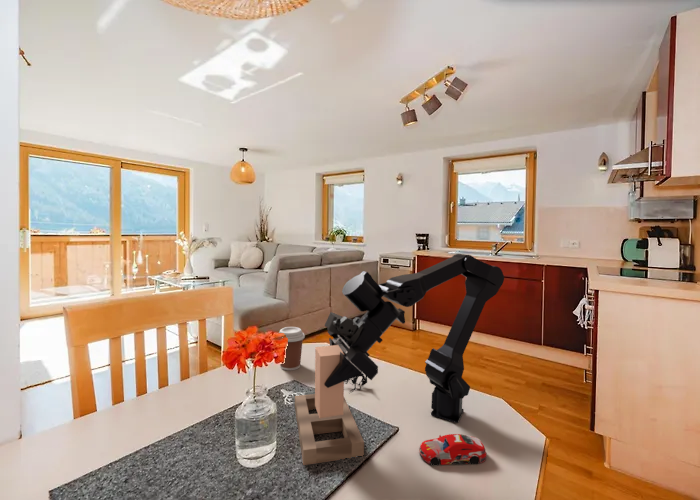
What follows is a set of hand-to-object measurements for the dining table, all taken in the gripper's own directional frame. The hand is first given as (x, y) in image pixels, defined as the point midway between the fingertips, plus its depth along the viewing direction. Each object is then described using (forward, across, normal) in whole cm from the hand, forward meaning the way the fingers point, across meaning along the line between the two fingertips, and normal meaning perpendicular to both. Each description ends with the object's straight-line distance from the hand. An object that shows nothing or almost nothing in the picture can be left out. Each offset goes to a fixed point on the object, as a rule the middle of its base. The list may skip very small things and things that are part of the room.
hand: (322, 380), depth 70 cm
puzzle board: (+8, -4, +11) cm, 14 cm away
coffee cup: (+10, -41, +9) cm, 43 cm away
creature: (0, -22, +20) cm, 29 cm away
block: (+4, 0, +6) cm, 7 cm away
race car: (-7, +11, +27) cm, 30 cm away
